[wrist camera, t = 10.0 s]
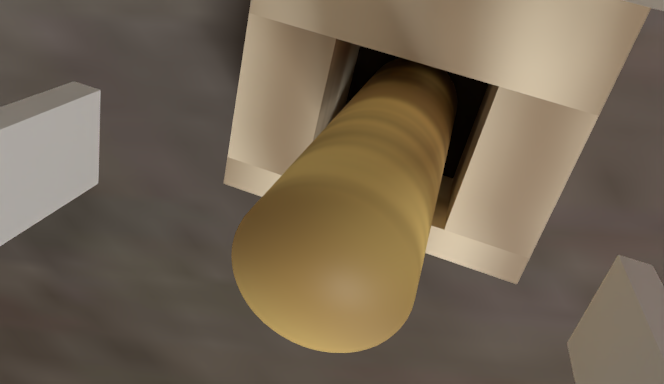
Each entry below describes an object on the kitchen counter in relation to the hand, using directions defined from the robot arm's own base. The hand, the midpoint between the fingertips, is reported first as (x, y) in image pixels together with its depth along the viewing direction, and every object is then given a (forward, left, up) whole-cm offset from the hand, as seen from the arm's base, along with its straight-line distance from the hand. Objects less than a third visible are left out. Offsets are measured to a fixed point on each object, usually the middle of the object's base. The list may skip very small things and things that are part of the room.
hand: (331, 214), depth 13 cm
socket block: (0, +3, -12) cm, 12 cm away
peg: (0, 0, -12) cm, 12 cm away
